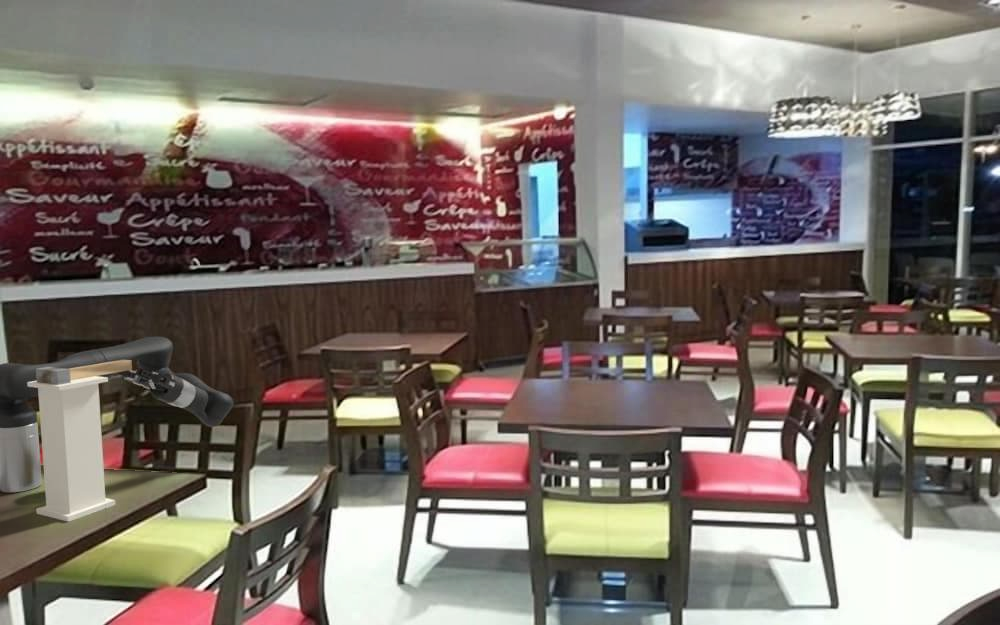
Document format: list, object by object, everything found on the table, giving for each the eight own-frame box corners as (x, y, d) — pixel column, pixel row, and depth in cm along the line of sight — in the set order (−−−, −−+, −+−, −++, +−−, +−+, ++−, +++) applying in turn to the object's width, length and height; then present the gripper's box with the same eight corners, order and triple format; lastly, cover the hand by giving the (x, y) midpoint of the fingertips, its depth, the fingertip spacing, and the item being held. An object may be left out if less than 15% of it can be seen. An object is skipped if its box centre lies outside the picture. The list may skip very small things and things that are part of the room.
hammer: (36, 382, 171) (35, 368, 171) (117, 368, 190) (117, 355, 190) (58, 384, 168) (57, 371, 167) (138, 370, 186) (137, 357, 186)
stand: (36, 513, 174) (27, 382, 171) (84, 497, 185) (76, 373, 182) (68, 521, 169) (59, 386, 166) (115, 504, 180) (107, 377, 177)
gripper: (161, 375, 206) (114, 354, 192) (197, 379, 199) (151, 357, 186) (151, 401, 203) (102, 381, 190) (186, 405, 197) (139, 385, 183)
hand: (126, 369), depth 188 cm, fingers open, 8 cm apart
